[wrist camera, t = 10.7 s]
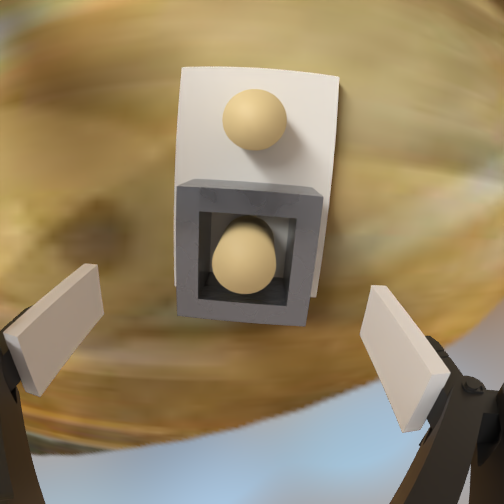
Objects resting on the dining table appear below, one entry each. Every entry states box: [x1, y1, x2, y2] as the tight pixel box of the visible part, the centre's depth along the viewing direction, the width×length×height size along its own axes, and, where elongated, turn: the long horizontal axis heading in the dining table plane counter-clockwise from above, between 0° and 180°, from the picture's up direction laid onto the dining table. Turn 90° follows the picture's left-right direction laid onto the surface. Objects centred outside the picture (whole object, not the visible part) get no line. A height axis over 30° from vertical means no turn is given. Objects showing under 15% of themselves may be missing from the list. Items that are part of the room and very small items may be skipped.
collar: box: [176, 179, 324, 326], centre depth 23 cm, size 9×9×5 cm
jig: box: [174, 67, 339, 297], centre depth 22 cm, size 18×12×7 cm, turn 176°
